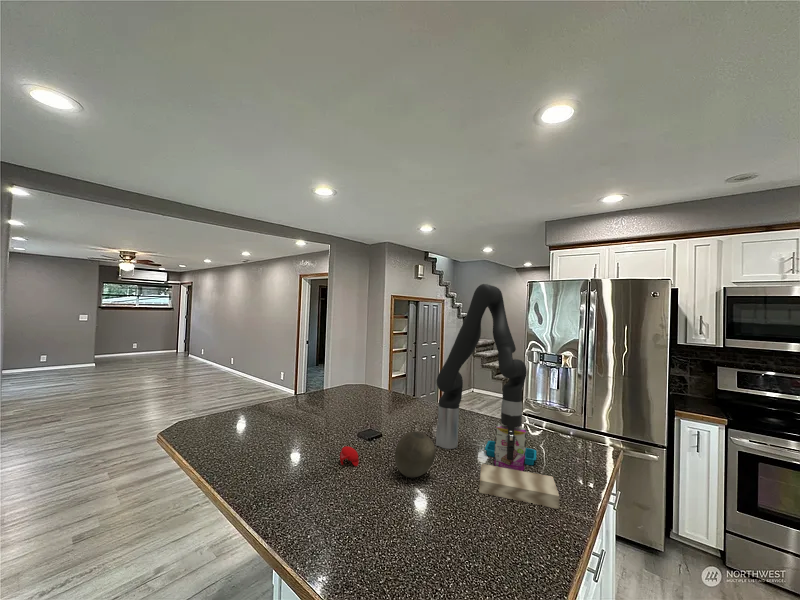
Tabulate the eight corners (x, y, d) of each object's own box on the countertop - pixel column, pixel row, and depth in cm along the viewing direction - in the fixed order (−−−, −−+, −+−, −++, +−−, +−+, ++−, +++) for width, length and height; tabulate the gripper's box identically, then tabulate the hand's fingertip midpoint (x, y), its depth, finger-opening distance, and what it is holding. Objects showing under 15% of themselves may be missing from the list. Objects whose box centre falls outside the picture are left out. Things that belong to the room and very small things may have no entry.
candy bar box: (493, 470, 124) (495, 426, 124) (494, 465, 128) (496, 423, 129) (525, 477, 120) (526, 431, 121) (524, 471, 125) (526, 427, 125)
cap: (334, 456, 121) (344, 451, 119) (342, 445, 127) (352, 440, 124) (346, 473, 122) (357, 469, 119) (353, 461, 127) (364, 457, 124)
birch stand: (479, 492, 107) (479, 480, 108) (481, 474, 120) (481, 463, 120) (558, 509, 100) (559, 495, 101) (552, 488, 113) (552, 476, 113)
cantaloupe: (405, 489, 107) (408, 442, 108) (387, 469, 120) (389, 428, 120) (441, 481, 113) (443, 437, 114) (420, 463, 126) (422, 424, 127)
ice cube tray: (535, 468, 129) (536, 460, 129) (483, 456, 137) (484, 449, 137) (536, 457, 139) (536, 449, 139) (488, 446, 148) (488, 440, 148)
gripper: (501, 405, 133) (499, 448, 132) (501, 415, 119) (499, 462, 119) (520, 408, 131) (518, 451, 130) (523, 418, 117) (521, 466, 116)
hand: (509, 456), depth 124 cm, fingers closed on candy bar box, 5 cm apart
